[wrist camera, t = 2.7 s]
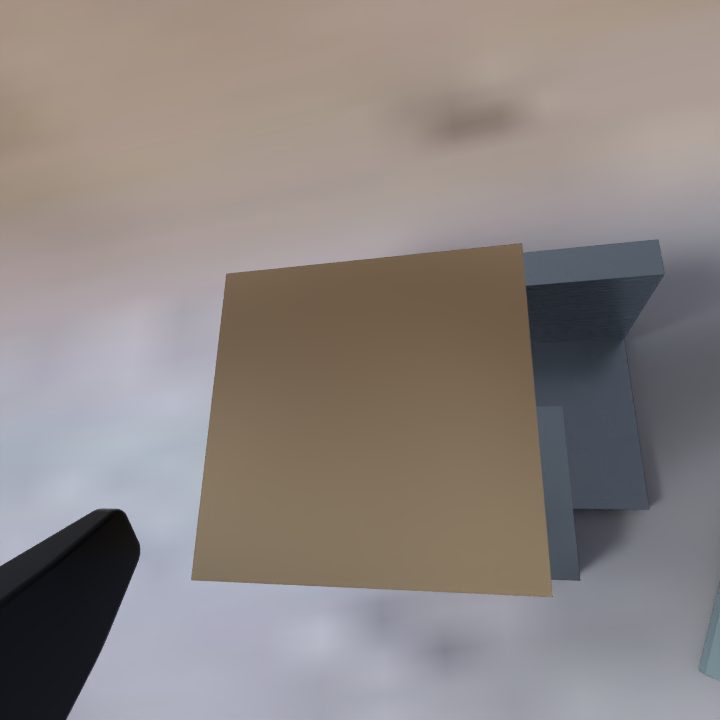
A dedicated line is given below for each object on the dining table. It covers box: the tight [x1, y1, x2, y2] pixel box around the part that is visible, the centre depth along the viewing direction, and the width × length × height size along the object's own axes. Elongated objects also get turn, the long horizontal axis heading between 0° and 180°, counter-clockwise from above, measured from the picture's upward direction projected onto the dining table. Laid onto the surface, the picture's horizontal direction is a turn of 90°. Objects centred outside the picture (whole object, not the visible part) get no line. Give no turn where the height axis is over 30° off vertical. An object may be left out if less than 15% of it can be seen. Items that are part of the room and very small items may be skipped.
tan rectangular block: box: [191, 243, 553, 597], centre depth 12 cm, size 4×4×12 cm
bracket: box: [523, 240, 665, 581], centre depth 16 cm, size 8×12×5 cm
